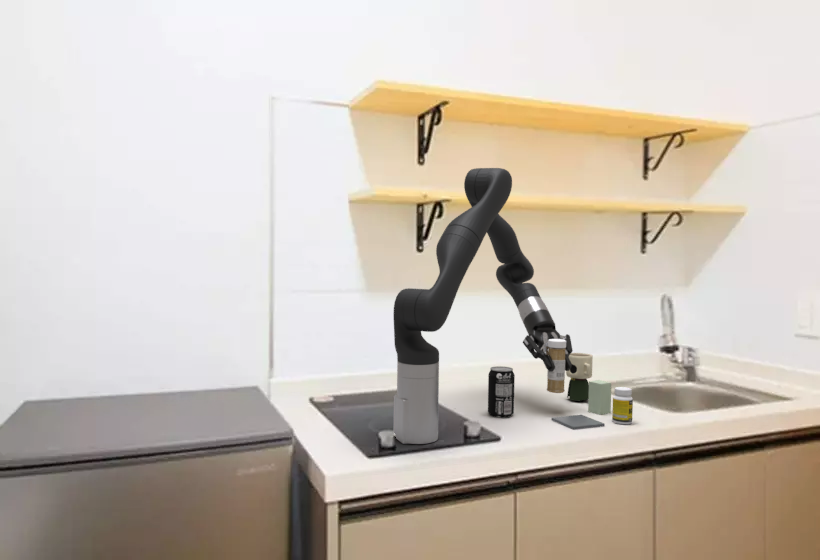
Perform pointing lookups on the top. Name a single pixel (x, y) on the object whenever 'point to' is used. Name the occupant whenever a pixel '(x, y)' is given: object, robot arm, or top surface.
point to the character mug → (579, 376)
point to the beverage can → (501, 392)
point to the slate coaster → (577, 422)
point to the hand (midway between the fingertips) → (560, 369)
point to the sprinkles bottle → (556, 365)
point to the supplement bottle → (622, 406)
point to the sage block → (599, 397)
